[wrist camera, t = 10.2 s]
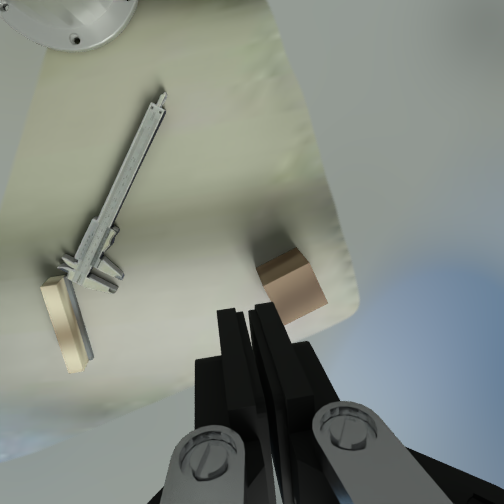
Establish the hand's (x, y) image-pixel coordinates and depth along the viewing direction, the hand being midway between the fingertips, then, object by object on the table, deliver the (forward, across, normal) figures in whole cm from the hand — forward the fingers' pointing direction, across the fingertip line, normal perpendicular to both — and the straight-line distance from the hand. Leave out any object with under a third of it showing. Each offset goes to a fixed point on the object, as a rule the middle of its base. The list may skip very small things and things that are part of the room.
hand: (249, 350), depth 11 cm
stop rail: (+28, +17, +12) cm, 34 cm away
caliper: (+27, +5, 0) cm, 28 cm away
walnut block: (+28, -7, +10) cm, 31 cm away
